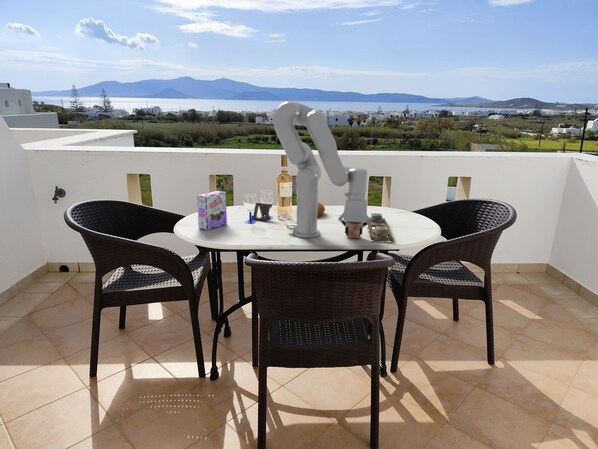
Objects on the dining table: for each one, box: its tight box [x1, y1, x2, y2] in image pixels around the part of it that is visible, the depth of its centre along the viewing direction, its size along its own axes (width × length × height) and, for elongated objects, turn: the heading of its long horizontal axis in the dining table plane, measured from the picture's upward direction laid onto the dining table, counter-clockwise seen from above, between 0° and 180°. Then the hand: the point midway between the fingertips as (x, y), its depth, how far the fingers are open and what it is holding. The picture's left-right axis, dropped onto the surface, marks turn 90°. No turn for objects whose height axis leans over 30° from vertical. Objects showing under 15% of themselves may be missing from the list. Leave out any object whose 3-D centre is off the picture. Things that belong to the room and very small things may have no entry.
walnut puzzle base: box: [366, 212, 394, 242], centre depth 189 cm, size 10×32×5 cm, turn 175°
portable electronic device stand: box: [250, 201, 273, 222], centre depth 205 cm, size 9×8×8 cm
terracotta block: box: [347, 222, 360, 240], centre depth 178 cm, size 5×5×7 cm
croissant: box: [317, 201, 326, 218], centre depth 216 cm, size 14×16×8 cm
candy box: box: [196, 190, 228, 231], centre depth 189 cm, size 14×6×16 cm, turn 147°
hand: (353, 235), depth 179 cm, fingers closed on terracotta block, 5 cm apart
